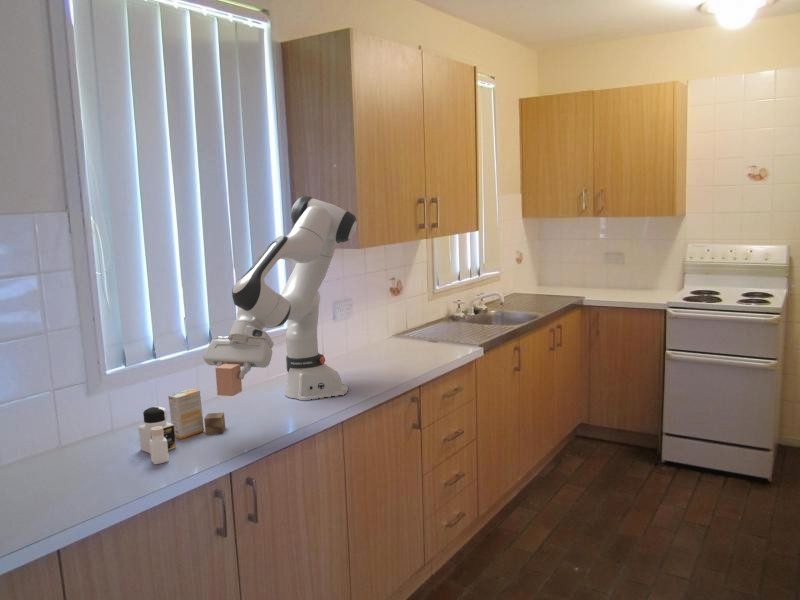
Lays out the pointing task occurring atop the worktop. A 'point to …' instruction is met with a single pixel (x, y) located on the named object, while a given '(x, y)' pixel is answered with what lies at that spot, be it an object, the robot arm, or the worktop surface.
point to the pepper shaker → (158, 446)
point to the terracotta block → (228, 380)
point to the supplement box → (186, 413)
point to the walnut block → (214, 423)
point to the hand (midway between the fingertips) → (229, 377)
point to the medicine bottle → (153, 419)
